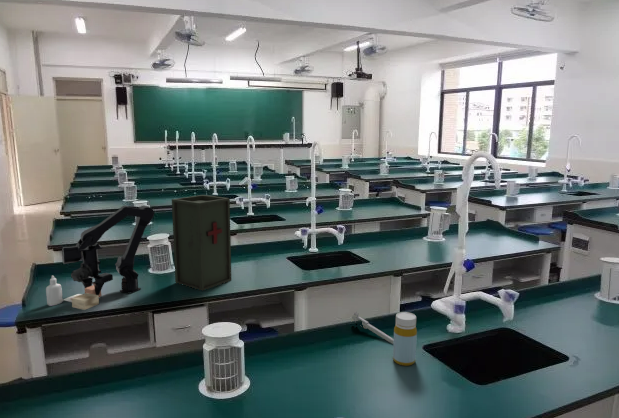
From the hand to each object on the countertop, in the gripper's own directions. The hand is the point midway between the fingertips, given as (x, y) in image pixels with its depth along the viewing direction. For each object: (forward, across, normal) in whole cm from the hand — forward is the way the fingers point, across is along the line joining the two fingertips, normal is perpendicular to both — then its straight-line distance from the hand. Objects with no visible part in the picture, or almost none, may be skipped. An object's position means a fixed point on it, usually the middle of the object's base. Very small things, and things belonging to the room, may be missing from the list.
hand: (93, 295), depth 197 cm
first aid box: (+1, +30, +37) cm, 48 cm away
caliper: (+2, +120, +16) cm, 121 cm away
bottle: (+1, +134, +2) cm, 134 cm away
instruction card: (+1, -6, -4) cm, 7 cm away
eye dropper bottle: (+1, -8, -12) cm, 14 cm away
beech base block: (+1, +5, -8) cm, 10 cm away
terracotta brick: (+1, 0, 0) cm, 1 cm away
